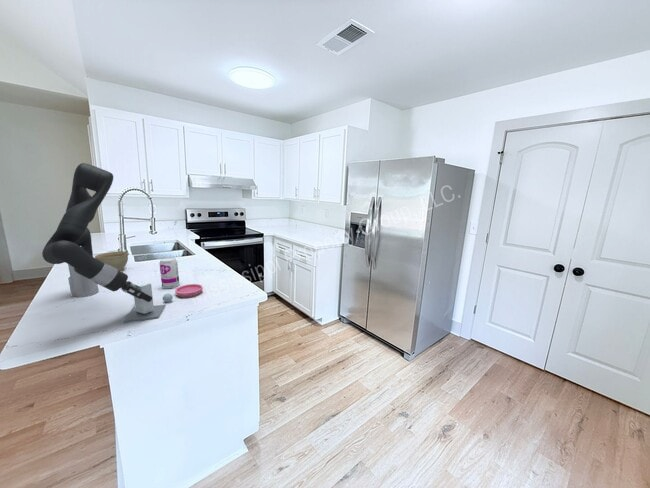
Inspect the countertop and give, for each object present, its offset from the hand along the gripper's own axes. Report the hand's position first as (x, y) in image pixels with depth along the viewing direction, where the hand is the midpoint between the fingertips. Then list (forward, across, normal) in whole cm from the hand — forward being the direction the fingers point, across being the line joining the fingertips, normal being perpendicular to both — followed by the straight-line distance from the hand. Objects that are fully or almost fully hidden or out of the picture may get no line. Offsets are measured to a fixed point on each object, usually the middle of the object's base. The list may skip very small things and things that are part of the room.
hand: (148, 297), depth 110 cm
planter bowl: (+8, +80, +3) cm, 81 cm away
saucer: (+19, +9, -9) cm, 23 cm away
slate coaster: (+4, 0, +6) cm, 7 cm away
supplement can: (+18, +27, -8) cm, 33 cm away
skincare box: (+3, 0, +5) cm, 6 cm away
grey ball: (+11, +6, -2) cm, 13 cm away
